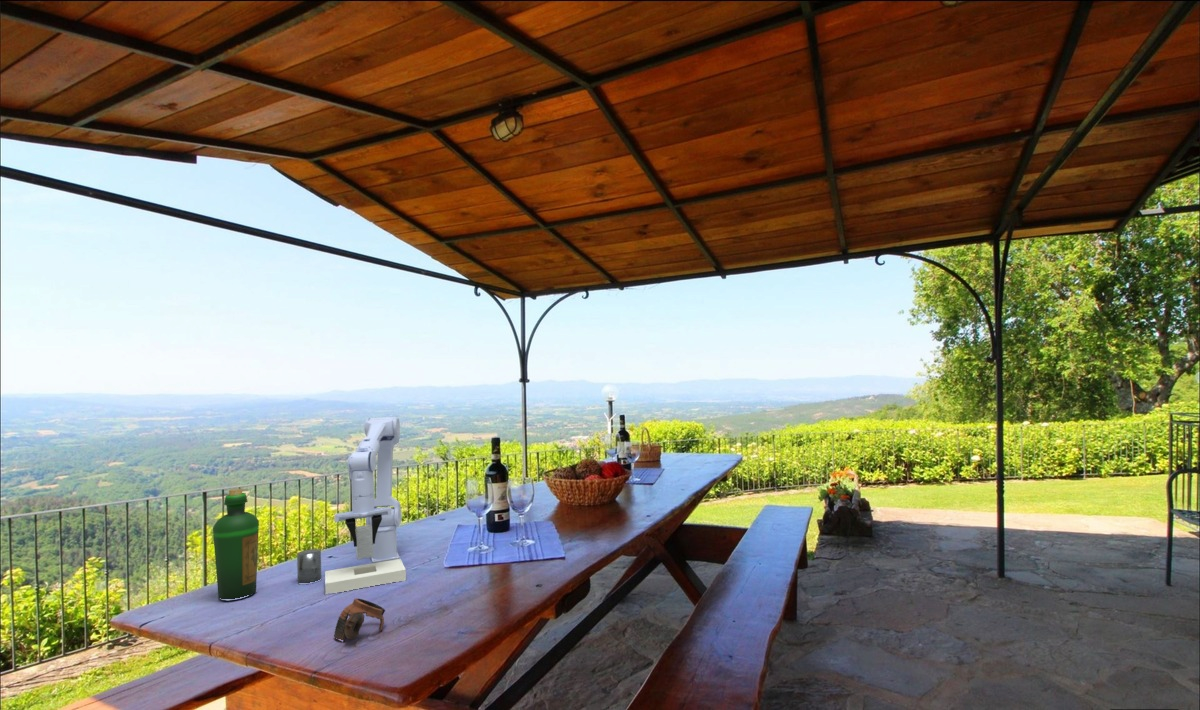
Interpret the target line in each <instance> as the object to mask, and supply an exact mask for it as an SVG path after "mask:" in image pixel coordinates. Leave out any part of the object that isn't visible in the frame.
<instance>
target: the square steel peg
mask: <svg viewBox="0 0 1200 710" xmlns="http://www.w3.org/2000/svg"><path fill="white" fill-rule="evenodd" d="M356 540H357V546H356V547H355V548H356V549H355V551H356V559H357V560H362V559H368V558H371V557H373V540H372V526H371V525H366V524H364V525H359V526H356Z"/></svg>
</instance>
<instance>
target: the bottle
mask: <svg viewBox="0 0 1200 710" xmlns="http://www.w3.org/2000/svg"><path fill="white" fill-rule="evenodd" d="M243 490H244V489H243V488H242V487H241V488H233V489H228V494H226V495H225V498H224V502H223V503H224V504H223V505H224V506H226V514H224V515H222V516H221V517H220V518H219V519H217V521H216V522H215V523H214V525H213V527H212V534H213V537H212V538H213V546H214V547H213V548H214V559H215V572H216V584H217V585H216V586H217V592H218V593H217V595H218V596H217V597H218V599H219V598H221V599H235V598H240V597H244V596H247V595H251V594H252V595H254V594H255V593H257V580H258V579H257V578H258V553H259V528H260V525H259V524H260V520H259V519H258V518H257V516H256V515H254V514H253V513H250V512H249V511H245V509H246V504H247V503H248V497H247V492H243ZM253 593H254V594H253ZM252 595H251V596H252Z"/></svg>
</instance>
